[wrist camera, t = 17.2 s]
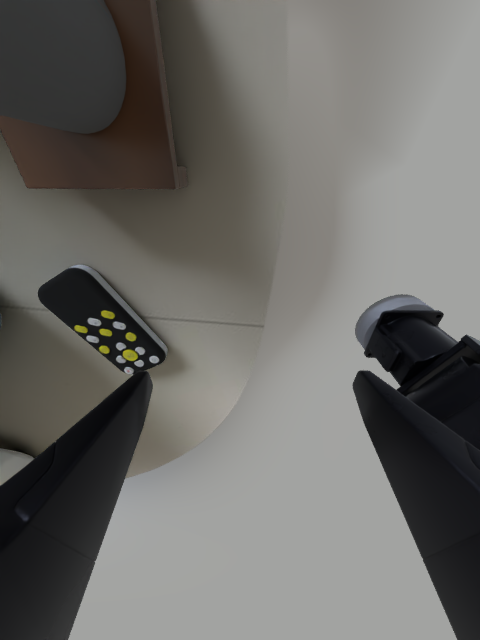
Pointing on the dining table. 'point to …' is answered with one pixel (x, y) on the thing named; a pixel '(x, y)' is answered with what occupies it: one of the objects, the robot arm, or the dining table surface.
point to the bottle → (61, 64)
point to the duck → (12, 463)
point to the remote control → (102, 319)
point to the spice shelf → (121, 135)
